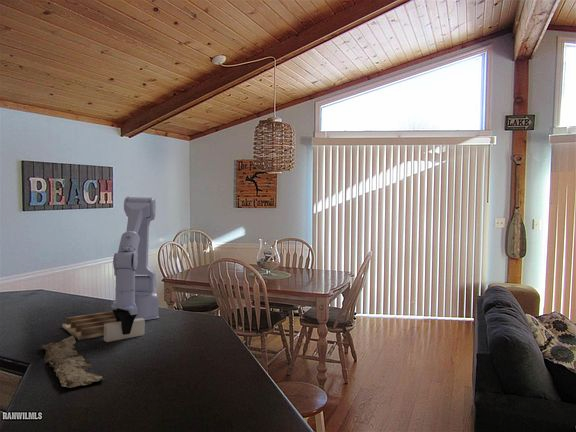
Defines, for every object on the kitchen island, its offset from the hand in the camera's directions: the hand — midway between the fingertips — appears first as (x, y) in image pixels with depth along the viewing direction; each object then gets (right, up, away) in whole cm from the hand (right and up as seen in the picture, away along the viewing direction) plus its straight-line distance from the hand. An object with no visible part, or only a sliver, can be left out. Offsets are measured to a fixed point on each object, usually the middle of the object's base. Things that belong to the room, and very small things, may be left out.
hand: (124, 332), depth 144 cm
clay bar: (0, -2, 0) cm, 2 cm away
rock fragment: (-6, -3, -24) cm, 25 cm away
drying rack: (-12, -1, +9) cm, 14 cm away
